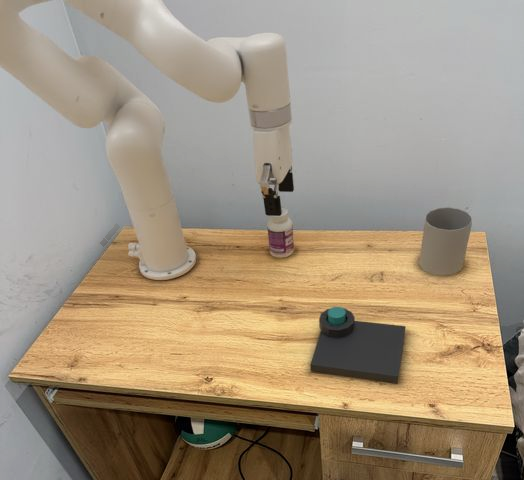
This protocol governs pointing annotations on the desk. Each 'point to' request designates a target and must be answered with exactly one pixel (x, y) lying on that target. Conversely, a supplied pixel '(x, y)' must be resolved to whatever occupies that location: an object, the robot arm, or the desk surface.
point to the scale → (359, 349)
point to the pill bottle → (280, 235)
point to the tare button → (336, 315)
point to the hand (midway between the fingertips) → (280, 202)
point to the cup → (445, 241)
